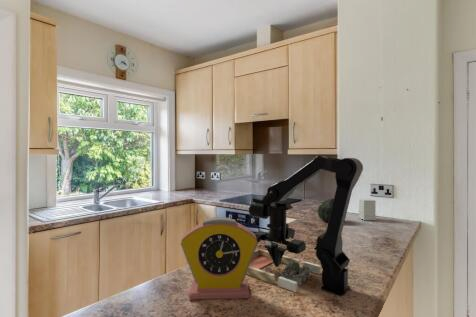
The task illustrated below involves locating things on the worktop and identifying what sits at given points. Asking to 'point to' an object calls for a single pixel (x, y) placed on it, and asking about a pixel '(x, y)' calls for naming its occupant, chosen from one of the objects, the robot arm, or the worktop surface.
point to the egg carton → (295, 272)
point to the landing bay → (294, 285)
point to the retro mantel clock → (219, 258)
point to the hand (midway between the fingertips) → (277, 266)
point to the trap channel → (262, 260)
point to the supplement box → (367, 209)
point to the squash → (325, 209)
